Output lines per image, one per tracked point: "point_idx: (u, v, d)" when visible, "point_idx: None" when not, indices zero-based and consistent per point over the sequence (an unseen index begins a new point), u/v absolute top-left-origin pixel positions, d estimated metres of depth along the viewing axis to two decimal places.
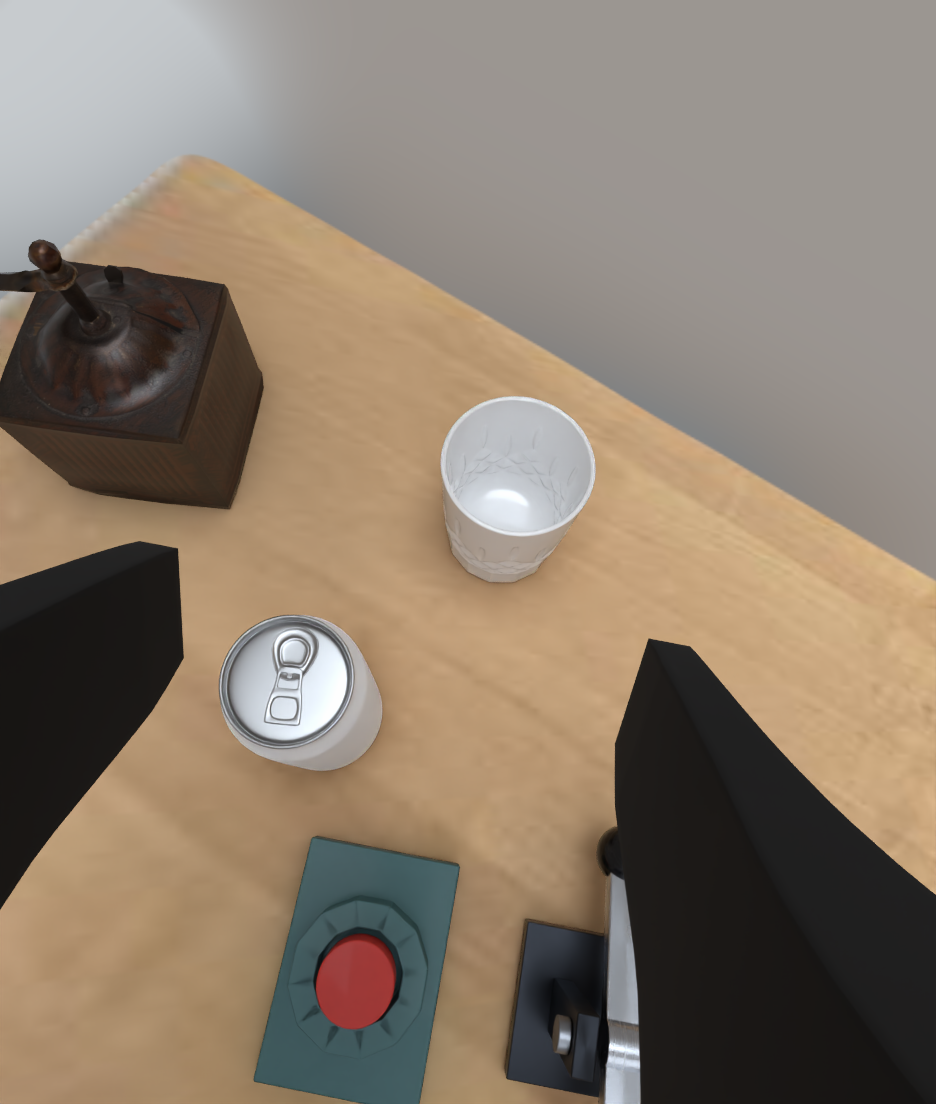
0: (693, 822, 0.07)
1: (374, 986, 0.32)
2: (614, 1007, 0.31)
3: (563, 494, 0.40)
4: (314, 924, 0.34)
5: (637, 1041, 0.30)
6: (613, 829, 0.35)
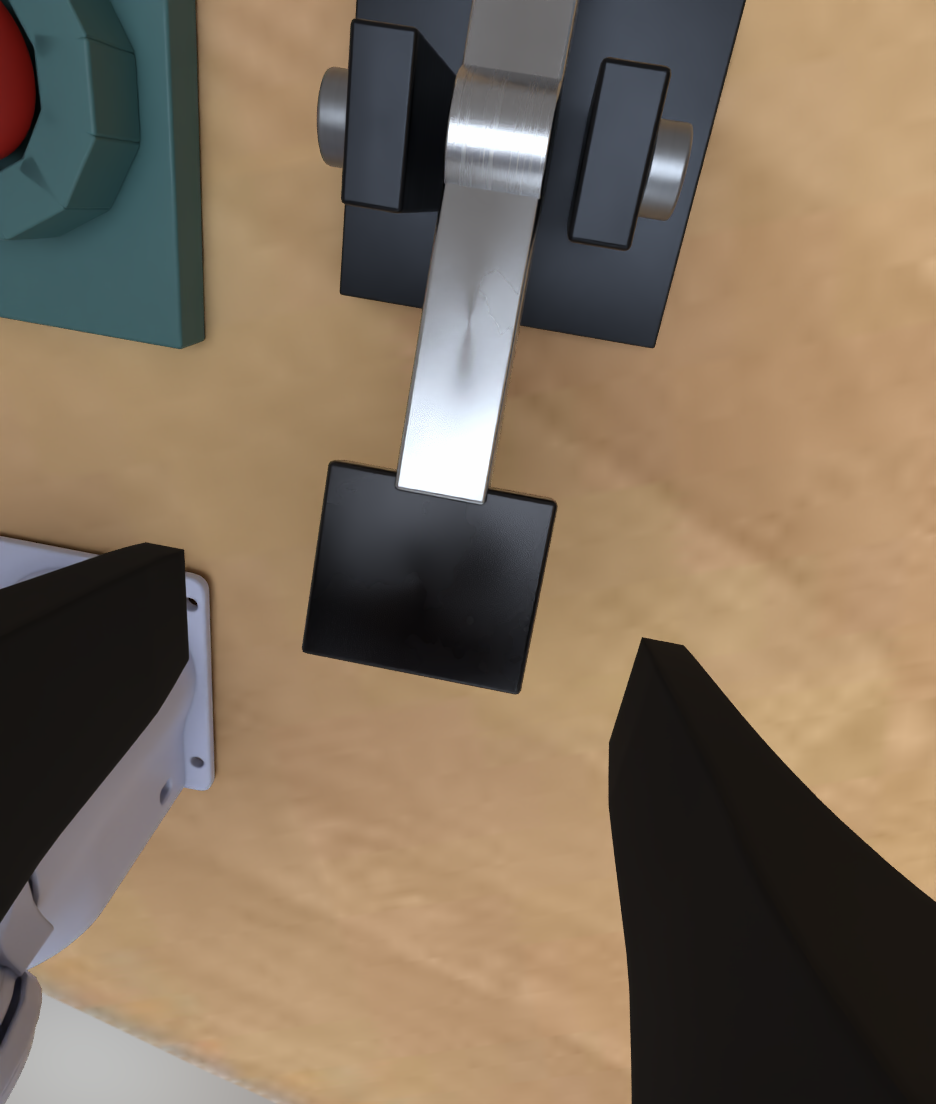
0: (684, 820, 0.07)
1: None
2: (488, 34, 0.11)
3: None
4: None
5: (532, 107, 0.10)
6: None
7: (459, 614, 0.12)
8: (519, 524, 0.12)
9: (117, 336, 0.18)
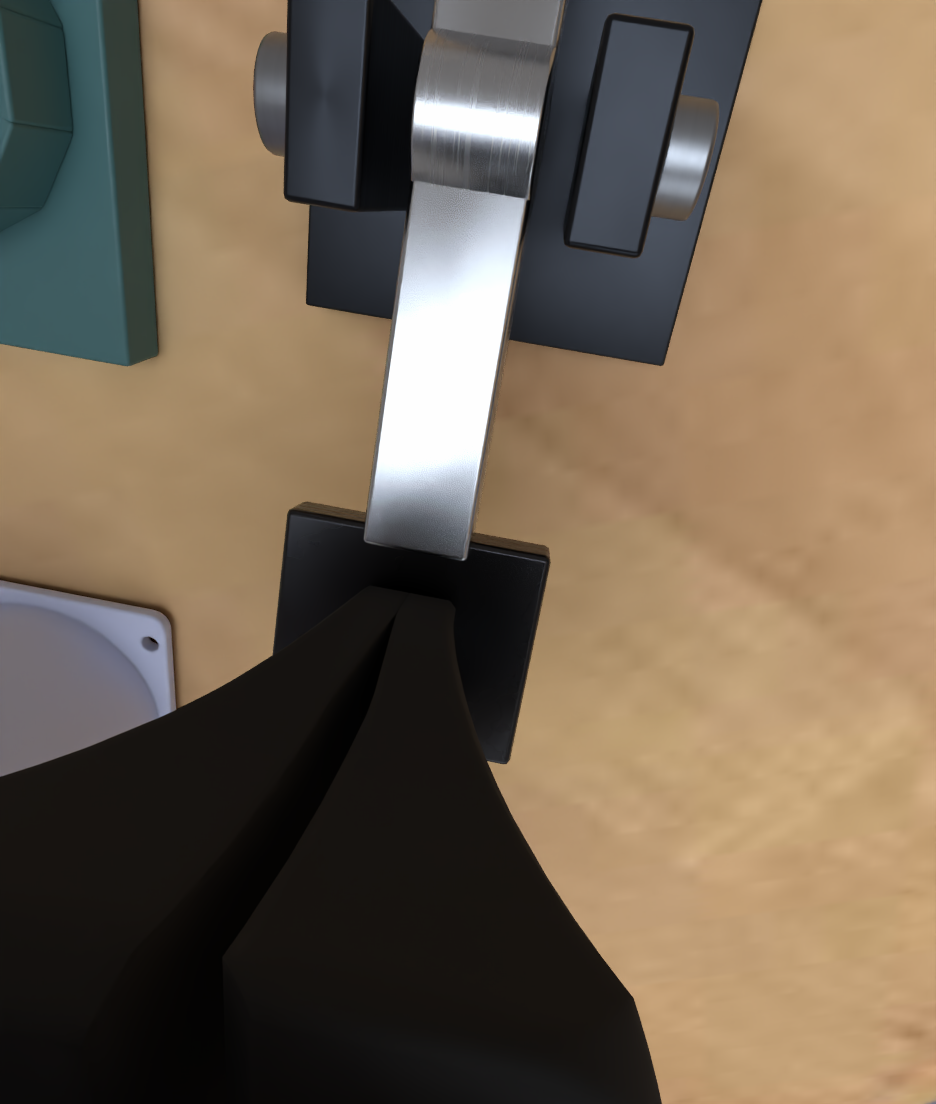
0: None
1: None
2: None
3: None
4: None
5: (518, 86, 0.08)
6: None
7: None
8: (507, 582, 0.10)
9: (55, 352, 0.16)
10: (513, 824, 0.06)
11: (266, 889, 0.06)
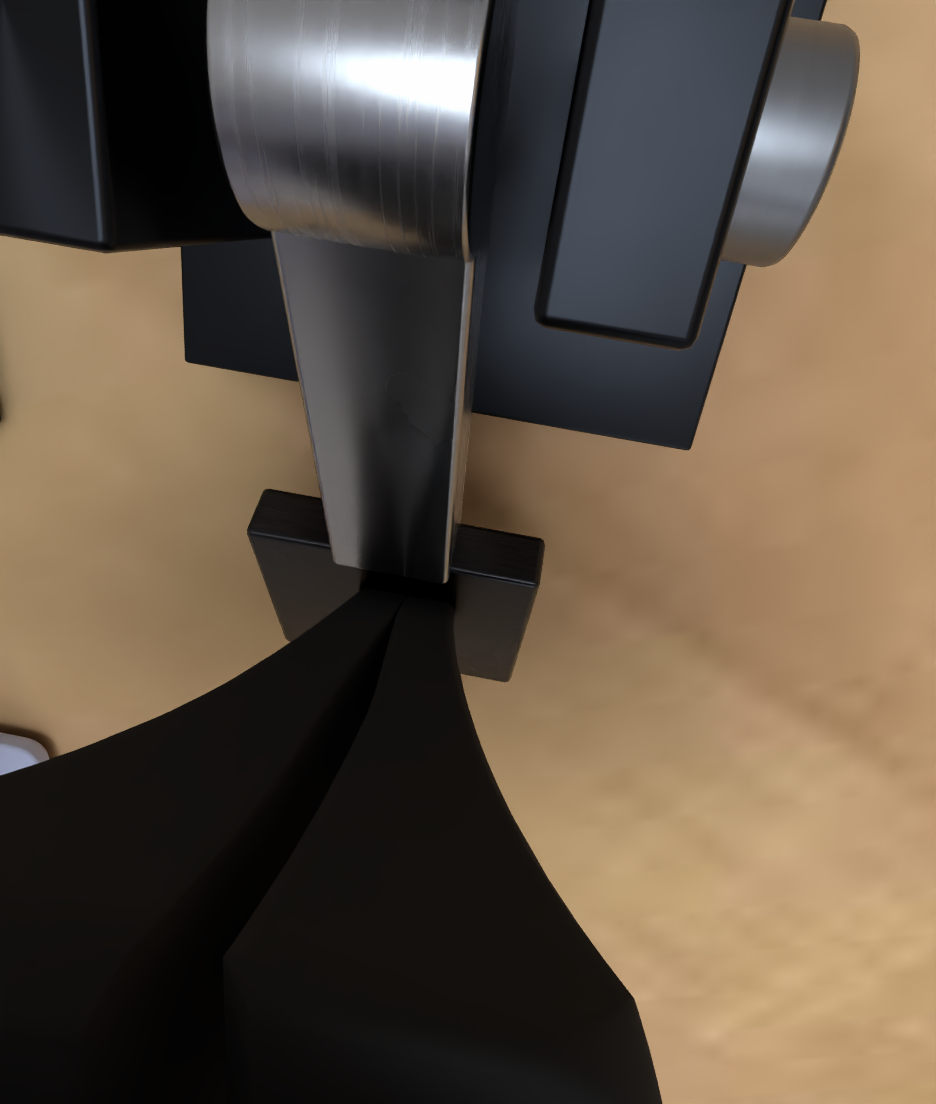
0: None
1: None
2: None
3: None
4: None
5: (413, 143, 0.04)
6: None
7: None
8: (492, 596, 0.10)
9: None
10: (514, 825, 0.06)
11: (264, 889, 0.06)
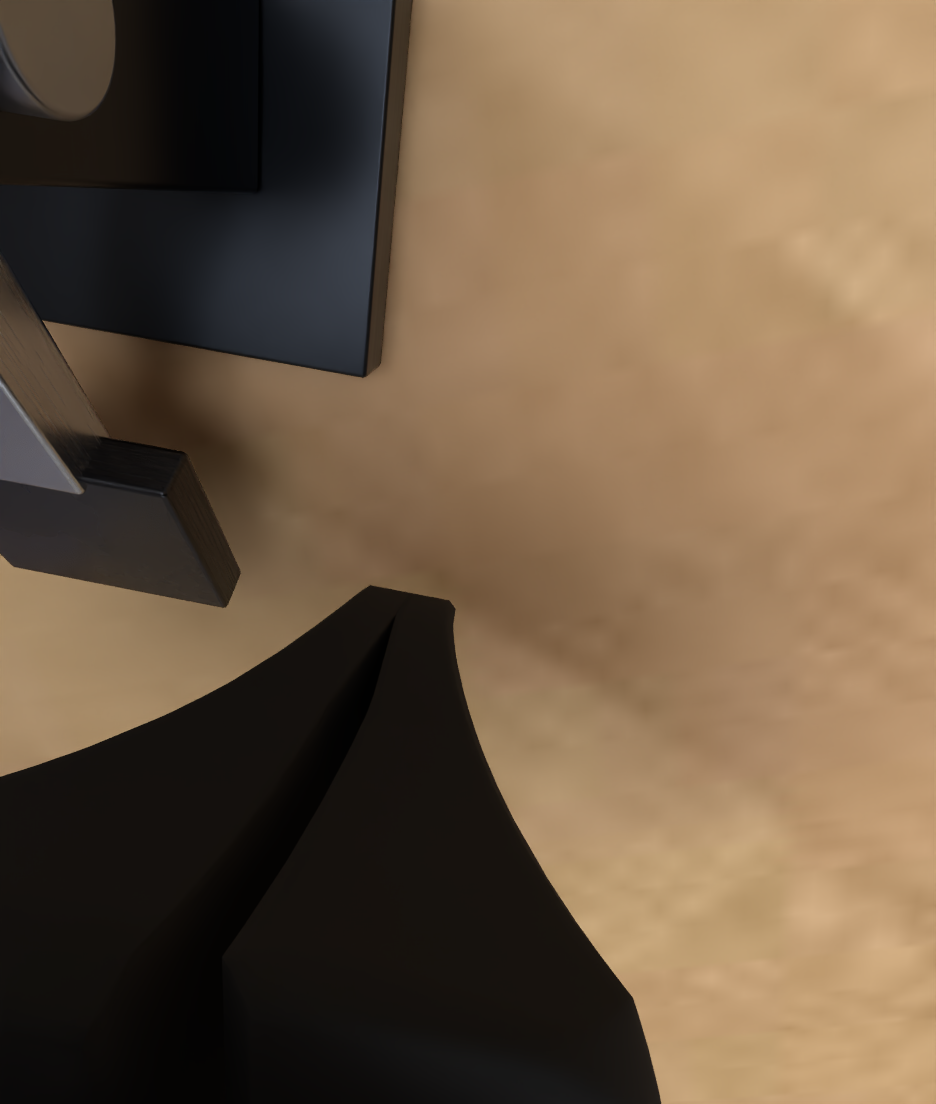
0: None
1: None
2: None
3: None
4: None
5: None
6: None
7: (130, 561, 0.11)
8: (137, 508, 0.10)
9: None
10: (513, 825, 0.06)
11: (267, 889, 0.06)
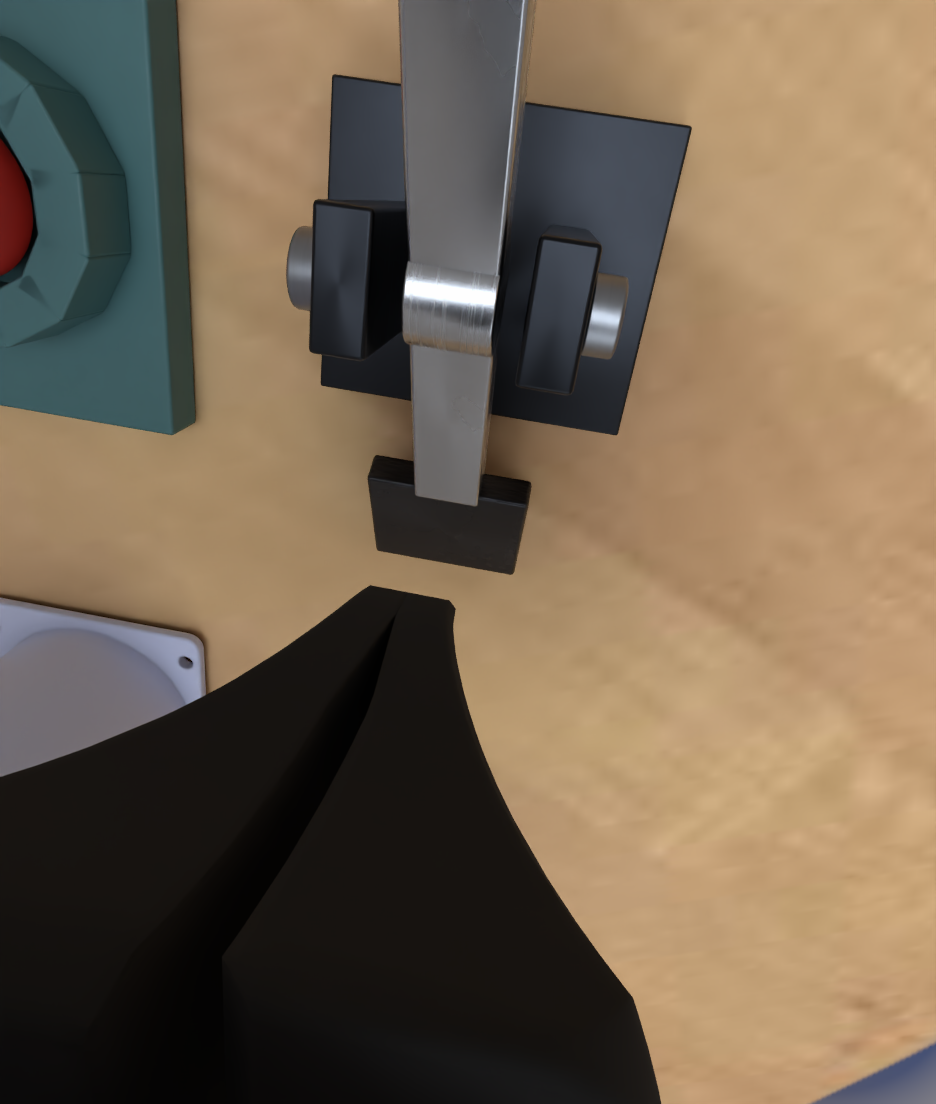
0: None
1: None
2: (426, 239, 0.11)
3: None
4: None
5: (472, 325, 0.12)
6: None
7: (470, 545, 0.19)
8: (502, 514, 0.17)
9: (112, 423, 0.19)
10: (513, 825, 0.06)
11: (267, 889, 0.06)
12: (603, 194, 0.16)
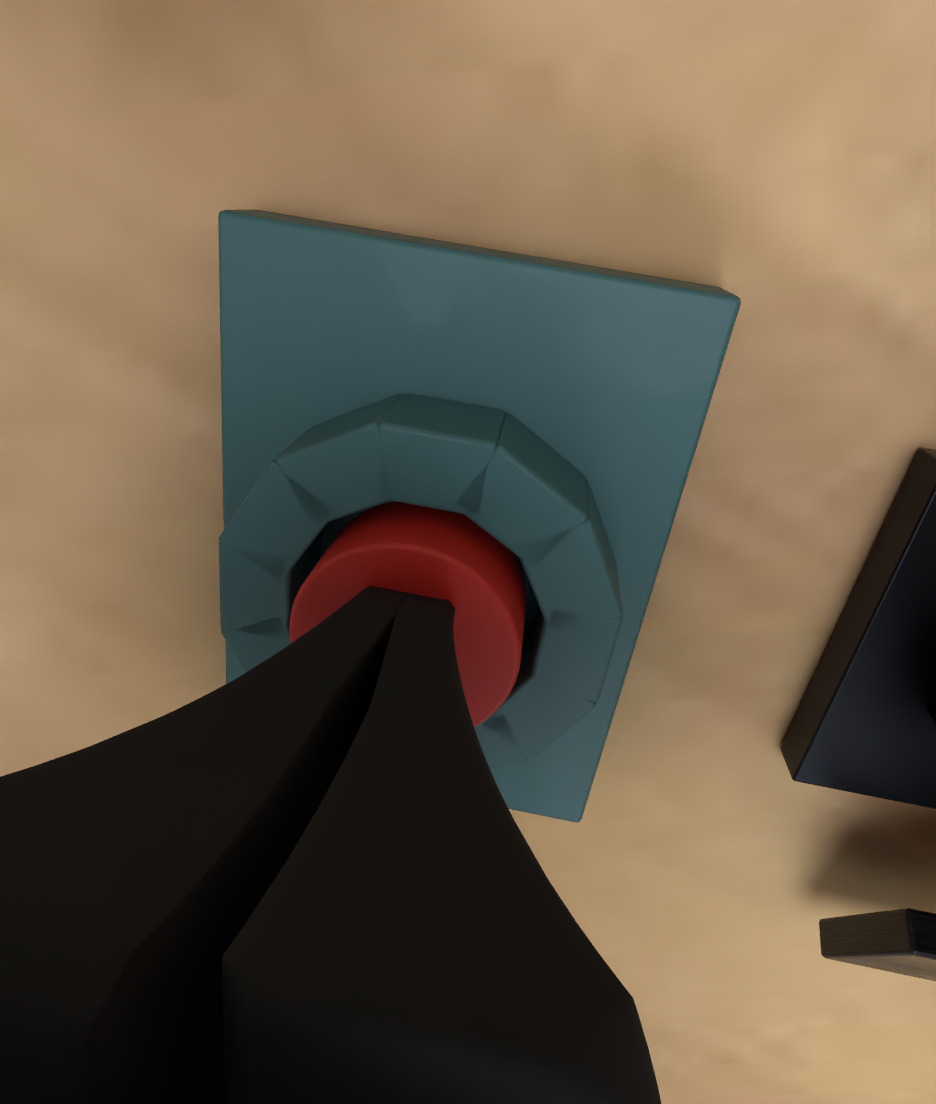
0: None
1: (460, 657, 0.11)
2: None
3: None
4: (256, 492, 0.11)
5: None
6: None
7: None
8: None
9: None
10: (513, 824, 0.06)
11: (267, 889, 0.06)
12: None
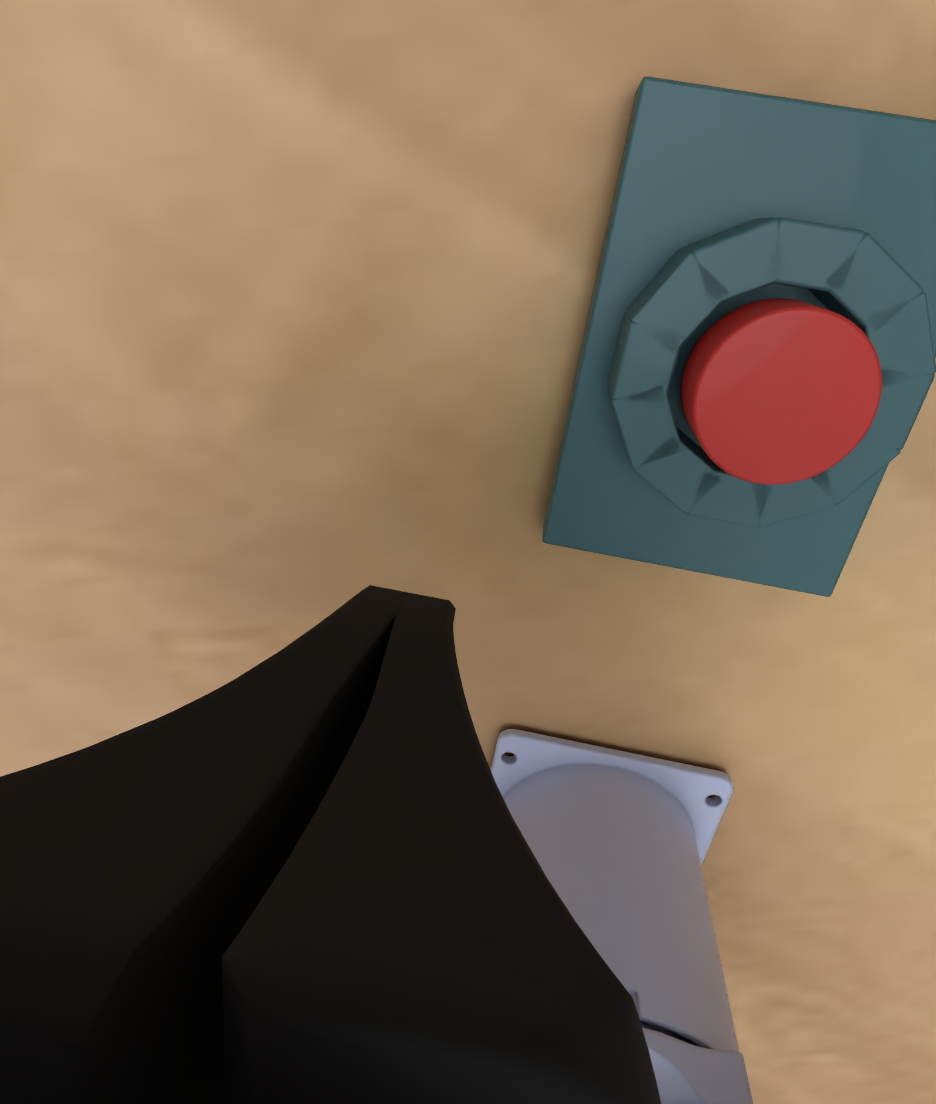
0: None
1: (832, 405, 0.14)
2: None
3: None
4: (672, 278, 0.14)
5: None
6: None
7: None
8: None
9: (766, 584, 0.19)
10: (513, 824, 0.06)
11: (266, 889, 0.06)
12: None
